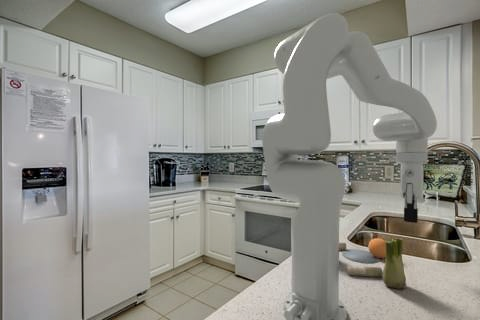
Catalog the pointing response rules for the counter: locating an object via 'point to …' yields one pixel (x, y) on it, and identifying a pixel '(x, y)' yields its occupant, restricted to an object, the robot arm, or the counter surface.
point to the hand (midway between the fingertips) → (410, 221)
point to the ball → (377, 247)
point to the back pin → (342, 246)
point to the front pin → (364, 271)
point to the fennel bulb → (394, 265)
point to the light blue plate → (360, 256)
